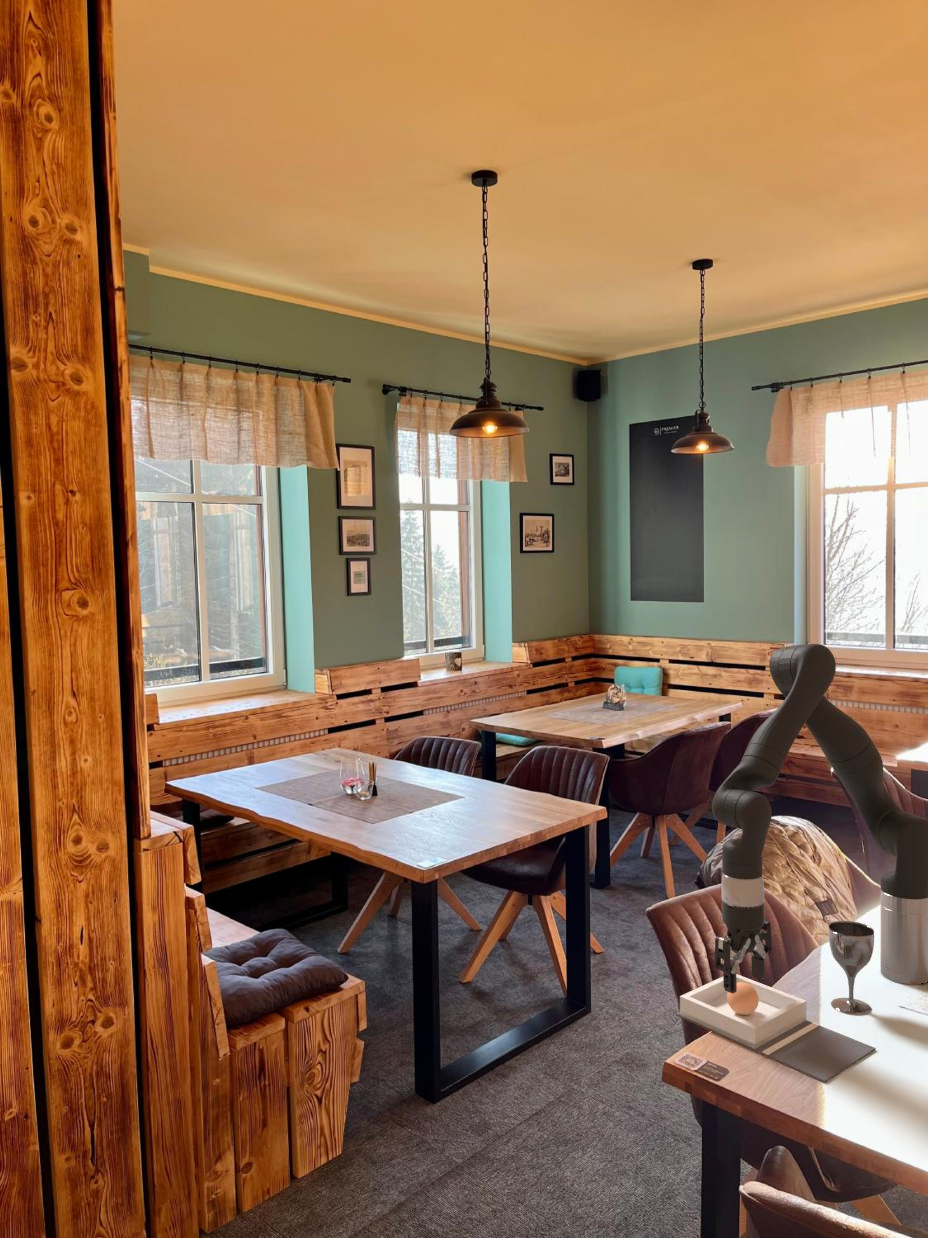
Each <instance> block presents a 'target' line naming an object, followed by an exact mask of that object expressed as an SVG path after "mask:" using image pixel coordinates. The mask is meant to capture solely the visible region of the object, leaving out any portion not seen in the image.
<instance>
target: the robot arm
mask: <svg viewBox="0 0 928 1238" xmlns="http://www.w3.org/2000/svg"><path fill="white" fill-rule="evenodd" d="M770 655H771V656H770V659H769V664H768V665H769V666H768V667H769V673H770V676H771V679H772V681H773V683H774V685H775V686H776V688H777V689H778V690H779V692H780V693H781V694H782V695H783V697H784V698H785V699H784V700H783V701H782V703H781V704H780V705H779V706H778V707H777V709H775V711H773V712H772V714H771V715H770V716H769V717H767V719H765V721H764V722H762V724H760V726H759V727H758V728H757V729H756V731H755V732H754V733H753V735H752V737H751V739H750V740H749V743H748V745H747V748H746V749H745V751H744V754H743V756H742V758H741V761H740V762H739V764H738V765H737V766H736V767H735V768H734V769H733V771H732V772H731V773H730V774H729V775H728V776H727V777H726V779H725V780H724V781H723V783H721V784H720V786H719V787H718V788H717V790H716V791H715V794H714V796H713V799H712V802H711V812H712V816H713V818H714V819H715V820H716V821H717V822H718V823H719V824H721V825H723V826H728V827H731V828H735V829H739V830H742V833H741V837H740V838H732V839H729V840H726V841H724V843H723V845H722V848H721V849H722V850H721V851H722V853H721V856H722V857H721V858H722V859H721V861H722V862H721V864H722V865H721V866H722V869H721V871H722V877H721V883H720V884H721V891H720V892H721V921H722V922H723V924H724V925H725V926H726V934H725V936H718V935H717V936H716V937H715V938H714V969H715V970H717V971H719V972H722V975H723V976H722V977H723V984H724V989H725V991H727V992H730V993H735V992H736V991H737V981H736V974H737V969H738V966H739V964H740V963H742V962H743V959H744V958H745V956H747V954H749V953H750V954H751V955H752V956H751V957H750V958H751V960H750V961H751V963H750V964H751V976H752V977H753V978H756V979H757V980H762V979H764V978H765V959H766V958H767V954H771V953H772V950H773V949H772V948H773V945H772V930H771V929H772V927H771V922H770V921H767V920H766V919H765V916H766V915H765V913H766V912H765V885H764V877H763V852H764V847H765V843H766V839H767V835H768V831H769V828H770V825H771V822H772V814H773V813H772V812H773V811H772V807H771V804H770V801H769V800H768V798H767V797H766V796H765V795H764V794H762V793H759V792H756V791H755V790H756V789H760V788H761V789H762V788H770V787H772V786H773V785H775V783H776V781H777V779H778V777H779V775H780V773H781V772H782V771H781V770H782V768H783V765H784V763H785V761H786V759H787V756H788V754H789V752H790V750H791V748H792V747H793V744H794V742H795V740H796V739H797V737H798V735H799V734H800V732H801V730H802V728H803V727H804V725H805V727H807V729H808V731H809V732H810V734H811V735H812V737H813V738H814V739H815V742H816V744H817V745H818V746H819V747H820V749H821V751H822V753H823V754H824V756H825V758H826V759H827V761H828V763H829V765H830V767H831V768H832V769H833V771H834V772H835V774H836V776H837V777H838V779H839V780H840V781H841V783H842V785H843V786H844V788H845V789H846V791H847V793H848V794H849V796H850V797H851V799H852V801H853V802H854V804H855V805H856V807H857V810H859V813H860V815H861V817H862V820H863V821H864V824H865V826H866V828H867V829H868V830H867V831H868V833H869V834H870V837H871V838H872V840H873V842H874V843H875V845H876V846H877V847H878V848H879V849H880V850H881V851H883V852H884V853H886V854H888V855H891V856H893V857H895V858H896V859H895V868H894V869H895V870H894V871H893V870H892V871H889V872H884V873H883V874H882V875H881V877H880V973H881V974H882V975H883V976H884V977H885V978H886V979H888V980H891V981H893V982H898V983H901V984H905V985H906V984H907V985H922V984H921V983H924V984H926V983H925V982H926V981H928V819H926V818H924V817H921V816H918V815H917V814H916V815H915V814H913V813H909V812H907V811H904V810H903V809H901V808H900V807H899V805H897V804H896V802H895V801H894V799H893V798H892V797H891V796H892V795H890V793H889V791H888V790H887V788H886V786H885V782H884V763H883V758H882V756H881V753H880V752H879V750H878V748H877V747H876V745H875V743H874V742H873V740H872V738H871V737H870V735H869V734H868V732H867V731H866V730H865V729H864V727H863V726H862V725H861V724H859V723H858V722H857V720H855V719H853V718H852V717H851V716H849V715H848V714H847V713H845V712H844V711H843V710H841V709H840V708H839V707H837V706H836V705H835V704H833V703H832V702H831V701H830V700H828V698H827V697H826V696H825V695H826V693H827V691H828V690H829V688H830V686H831V684H832V682H833V680H834V678H835V676H836V671H837V663H836V659H835V655H834V653H832V651H831V650H830V649H829V648H828V647H827V646H825V645H823V644H819V643H808V644H807V643H806V644H797V645H789V646H783V647H780V648H777V649H776V650H774V651H773V652H772V653H771V654H770ZM763 941H765V943H764V942H763ZM731 952H732V953H734V954H732V953H731ZM735 954H736V955H735ZM731 960H732V961H731ZM731 962H732V963H731Z"/></svg>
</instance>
